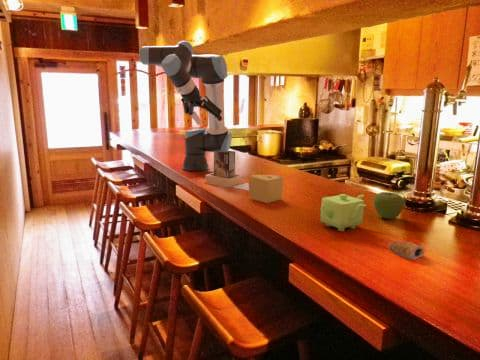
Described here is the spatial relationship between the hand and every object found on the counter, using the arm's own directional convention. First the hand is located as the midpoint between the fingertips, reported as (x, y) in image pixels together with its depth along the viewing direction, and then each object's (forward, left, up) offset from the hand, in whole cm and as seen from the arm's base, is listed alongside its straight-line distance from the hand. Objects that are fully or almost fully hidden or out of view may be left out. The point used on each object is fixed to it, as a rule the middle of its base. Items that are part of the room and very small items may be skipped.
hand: (210, 124), depth 175 cm
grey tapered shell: (+23, +94, -30) cm, 101 cm away
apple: (-7, +80, -30) cm, 86 cm away
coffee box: (-11, 0, -30) cm, 32 cm away
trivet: (-11, +15, -30) cm, 35 cm away
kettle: (+13, +71, -30) cm, 78 cm away
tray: (-11, 0, -30) cm, 31 cm away
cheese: (+1, +32, -30) cm, 44 cm away
